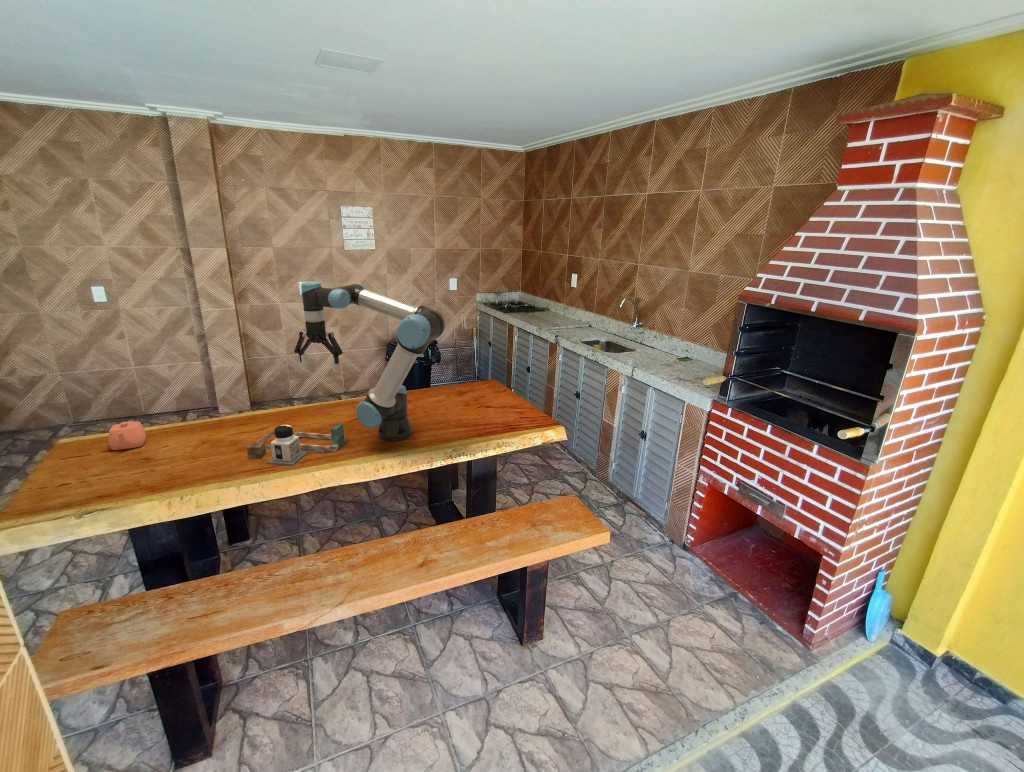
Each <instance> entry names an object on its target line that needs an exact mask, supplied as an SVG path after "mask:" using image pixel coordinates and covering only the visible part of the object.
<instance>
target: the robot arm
mask: <svg viewBox="0 0 1024 772" xmlns="http://www.w3.org/2000/svg"><path fill="white" fill-rule="evenodd" d="M300 288H301V289H300V290H301V298H302V299H301V300H302V305H303V306H302V307H303V315H304V320H305V323H304V324H305V330H306V331H305V330H302V331H300V332H299V334H298V335H299V337H298V340H297V343H296V345H295V348H294V353H295V354H298V355H299V361H300V362H301V366H302V371H305V370H307V369H308V368H309V367H308V357H307V353H305V352H306V351H307V350H308V348H309V347H310V345H311V344H321V345H322V346H324V347H325V348H326V349H327V350H328V351H329V353H331V355H332V356H331V361H332V371H333V373H336V372H338V371H339V364H340V356H341V355H343V353H344V352H343V349H342V348H341V346H340V344H339V343H338V342H337V339H336V338H335V334H334V332H333V331H331V332H327V331H326V321H325V311H324V310H325V309H324V308H332V309H336V310H338V309H339V310H340V309H346V308H347V307H348V306H349V305H357V306H359V307H361V308H365V309H367V310H371V311H373V312H376V313H378V314H382V315H384V316H387V317H390V318H392V319H396V320H398V321H400V322H399V323H398V325H397V328H396V334H397V336H396V343H397V345H396V347H395V349H394V351H393V353H392V355H391V357H390V358H389V361H388V363H387V364H386V367H385V369H384V370H383V371H382V374H381V376H380V378H379V380H378V382H377V384H376V386H375V387H372V388H370V389H369V390H368V392H367V394H366V396H365V398H364V399H363V401H359V403H358V404H357V405H356V407H355V416H356V417H357V419H358V421H359V422H360V423H361V424H362V425H364V426H365V427H367V428H376V427H377V428H378V429H377V436H378V438H380V439H382V440H384V441H391V442H392V441H393V442H394V441H401V440H404V439H405V440H406V439H407V438H409V437H411V436H412V435H413V433H414V431H413V426H412V424H411V420H410V419H409V415H408V397H407V395H408V393H407V389H406V385H403V383H404V382H405V379H406V378H407V376H408V374H409V373H410V370H411V368H412V367H413V365H414V363H415V361H416V360H417V358H418V356H420V355H423V354H424V353H425V352H426V349H427V348H428V346H429V344H430V343H431V342H432V341H434V340H436V339H438V338H440V336H442V335H443V333H444V330H445V329H446V327H445V326H446V323H445V318H444V316H443V315H442V314H441V313H440V312H439V311H438V310H436V309H433V308H431V307H428V306H425V305H423V304H422V305H418V306H416V305H415V304H411V303H408V302H405V301H401V300H399V299H396V298H394V297H390V296H387V295H384V294H382V293H378V292H376V291H373V290H370V289H367V288H366V287H365V285H363V284H362V283H361V284H360V283H352V284H349V285H344V286H339V287H337V286H336V287H333V288H331V287H323V286H322V284H321V282H320V281H317V280H316V281H313V280H312V281H304V282H302V283H301V286H300ZM306 337H307V340H306V341H305V338H306ZM327 338H328V339H327ZM304 341H305V343H304Z"/></svg>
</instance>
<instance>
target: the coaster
mask: <svg viewBox="0 0 1024 772" xmlns="http://www.w3.org/2000/svg"><path fill="white" fill-rule="evenodd" d="M307 454H308V451H301V453H300V454H299V455H298V456H297V457H295V458H294V459H293V460H292V461H281V460H273V456H272V457H271V458H270V459H268V461H267V460H266V464H267V465H268V464H269V465H279V466H290V467H291V466H294V465H295V464H297V463H298V462H299V461H300V460H301V459H303V458H304V457H305V456H306V455H307Z"/></svg>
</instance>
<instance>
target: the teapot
mask: <svg viewBox="0 0 1024 772" xmlns="http://www.w3.org/2000/svg"><path fill="white" fill-rule="evenodd" d="M146 439H147V432H146V430H145V428H144V426H143V425H142V423H141V422H140V421H132V420H129V421H122V422H120V423H117V424H113V425H112V426H111V428H110V429H109V431H108V443H109V447H110V449H111V450H113V451H118V450H119V451H121V450H128V449H135V448H139V447H142V446H143V445H144V444H145V442H146Z"/></svg>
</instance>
